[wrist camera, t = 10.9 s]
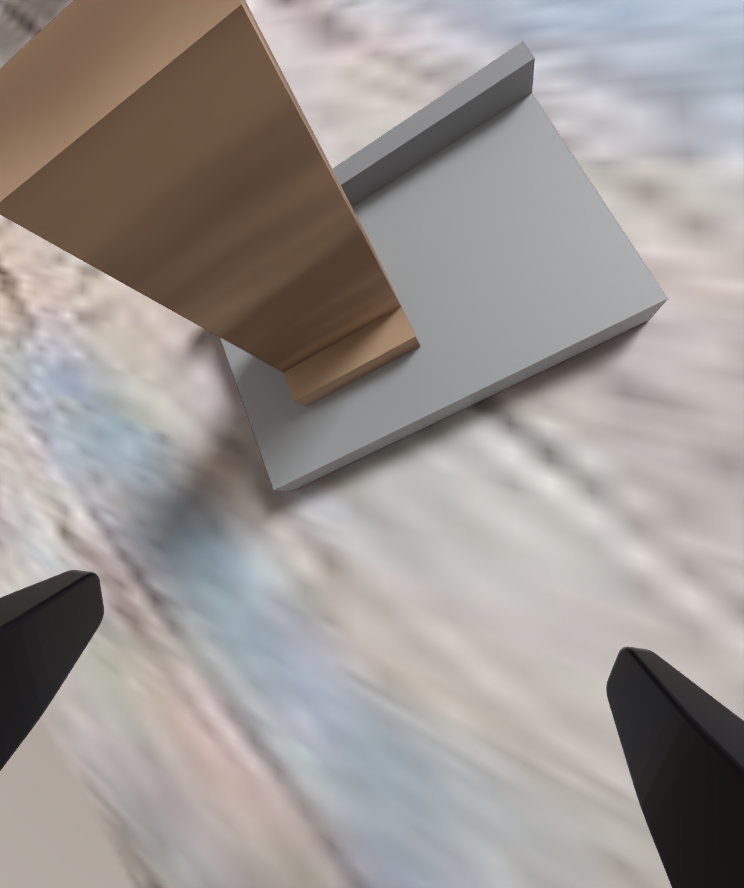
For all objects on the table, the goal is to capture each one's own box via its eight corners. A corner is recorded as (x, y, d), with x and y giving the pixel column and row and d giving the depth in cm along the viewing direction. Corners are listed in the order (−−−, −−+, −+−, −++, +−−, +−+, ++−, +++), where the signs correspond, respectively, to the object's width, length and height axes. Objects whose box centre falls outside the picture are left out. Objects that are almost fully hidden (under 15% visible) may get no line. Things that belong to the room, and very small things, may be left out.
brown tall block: (420, 346, 18) (271, 69, 6) (306, 406, 19) (5, 271, 8) (369, 239, 20) (167, -155, 8) (265, 302, 21) (-44, 51, 9)
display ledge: (649, 319, 17) (685, 278, 14) (293, 490, 21) (255, 489, 18) (519, 115, 20) (523, 41, 17) (224, 301, 24) (181, 270, 21)
